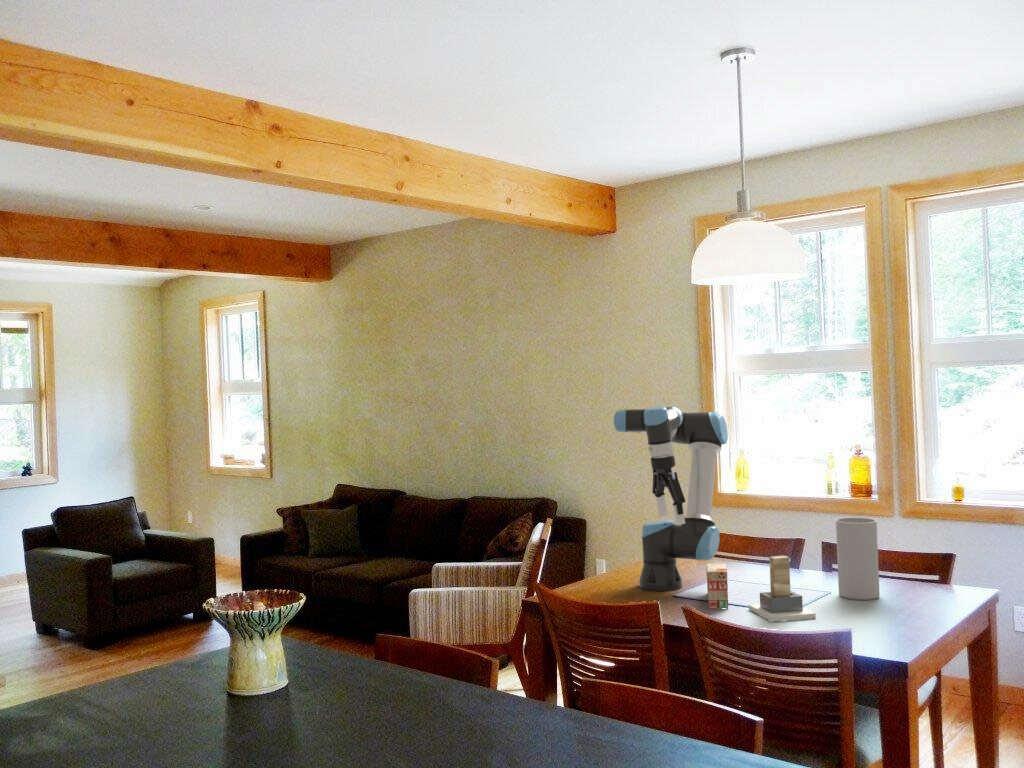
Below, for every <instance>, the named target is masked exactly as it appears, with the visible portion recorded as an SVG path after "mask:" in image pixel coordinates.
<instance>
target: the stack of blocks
mask: <svg viewBox="0 0 1024 768" xmlns="http://www.w3.org/2000/svg"><path fill="white" fill-rule="evenodd" d="M705 570H706V582H707V584H706V585H707V586H706V587H707V604H708V609H709V610H723V609H722V608H727V609H726V610H729V594H728V590H729V589H728V583H729V582H728V569H727V565H726V563H706V569H705Z"/></svg>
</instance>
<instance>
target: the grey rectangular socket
mask: <svg viewBox="0 0 1024 768" xmlns="http://www.w3.org/2000/svg"><path fill="white" fill-rule="evenodd" d="M790 593H791V596H780V597H773V596H771V591H767V592H765V591H764V592H759V604H760V607H761V608H763V609H765V610H767V611H768V612H770V613H783V612H794V611H803V608H804V607H803V605H804V604H803V595H801V594H800V593H796V592H794V591H792V590H790Z"/></svg>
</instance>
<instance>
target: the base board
mask: <svg viewBox="0 0 1024 768" xmlns="http://www.w3.org/2000/svg"><path fill="white" fill-rule="evenodd" d="M749 609H750V610H749ZM748 610H749V611H751V612H752V611H753V613H754V612H755V613H754V614H756V613H757V614H756V615H758V614H759V615H758V616H760V615H761V616H760V617H762V616H763V617H762V618H764V617H765V618H766V619H765V618H764V619H765V620H767V619H768V621H769V620H770V621H769V622H771V621H780V622H784V621H783V620H792V621H799V620H798V619H803V620H811V619H812V618H815V619H816V618H817V615H816V614H817V613H816V612H814V611H812V610H809V609H807V608H805V607H803V611H794V612H783V613H770V612H768V611H767V610H765V609H763V608H761V607H760V603H753V604H748ZM812 620H813V619H812Z"/></svg>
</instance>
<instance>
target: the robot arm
mask: <svg viewBox="0 0 1024 768" xmlns="http://www.w3.org/2000/svg"><path fill="white" fill-rule="evenodd" d="M613 426H614V429H615V430H616V431H617V432H620V433H621V432H622V433H635V434H636V433H637V434H643V435H646V438H647V444H648V447H647V450H648V451H649V455H650V457H651V458H650V463H651V469H652V474H653V475H652V488H651V489H652V491H651V493H652V494H653V495H654V496H655V499H656V506H657V512H658V516H659V518H662V517H667V516H668V509H667V504H666V497H665V495H666V494H665V489H666V488H667V489H668V492H669V494H670V497H671V498H672V501H673V503H672V507H673V511H674V518H675V520H674V519H663V520H656V521H651V522H647V523H645V524H643V526H642V529H641V530H642V531H641V533H642V534H641V541H642V560H643V561H642V564H643V565H642V568H641V573H640V575H639V580H638V586H639V588H640V589H643V590H647V591H658V592H663V591H664V592H666V591H674V590H679V589H680V588H682V587H683V581H682V580H683V579H682V577H681V574H680V572H679V569H678V566H677V559H683V560H697V561H702V560H703V561H708V560H711V559H713V558H714V557H715V556H716V554H717V552H718V550H719V546H720V529H719V528H718V527H717V526H716V523H715V521H714V519H712V508H713V496H714V485H715V477H716V476H715V472H716V463H717V454H718V453H720V452H721V450H722V445H723V446H724V445H726V444H727V442H728V440H729V437H728V436H729V435H728V434H729V433H728V426H727V423H726V419H725V417H724V415H723V414H722V413H720V412H715V411H714V412H712V411H707V412H705V411H704V412H702V411H701V412H682V411H681V410H680V409H679V408H677V407H676V406H653V407H649V408H643V409H641V408H640V409H638V408H637V409H636V408H635V409H618V410H616V412H614V416H613ZM673 443H674V444H680V445H688V448H689V449H690V450H691V462H690V463H691V464H690V471H689V472H690V474H689V483H688V495H687V503H686V499H685V496H684V492H683V489H682V487H681V484H680V481H679V477H678V473H677V472H676V471H674V472H673V471H672V468H674V467H675V466H676V460H675V455H674V446H673V445H674V444H673ZM684 503H686V504H687V505H686V512H685V511H684V506H683V505H684ZM684 513H686V514H684Z"/></svg>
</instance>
